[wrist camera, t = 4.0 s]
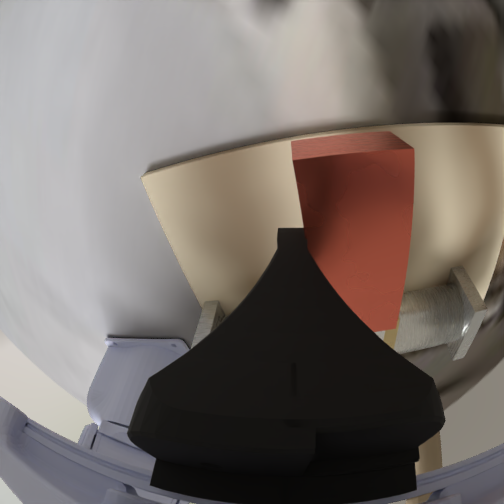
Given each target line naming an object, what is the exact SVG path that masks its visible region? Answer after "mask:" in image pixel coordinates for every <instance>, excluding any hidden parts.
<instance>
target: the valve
mask: <svg viewBox="0 0 504 504" xmlns="http://www.w3.org/2000/svg"><path fill="white" fill-rule="evenodd" d="M486 312H487V307H486V305H485V303H484V301H483V299H482V298H481V296H480V294H479V292H478V290H477V289H476V287H475V285H474V284H473V282H472V280H471V278H470V277H469V275H468V273H467V272H466V270H465V269H464V267H463V265H462V266H457V267H452V268H451V270H450V274H449V278H448V282H447V284H445V285H440V286H435V287H430V288H425V289H420V290H414V291H409V292H403V296H402V302H401V307H400V312H399V317H398V321H397V326H396V329H391V330H385V335H384V340H383V341H384V342H385V343H386V344H388V345H389V346H390V347H391V348H392V349H394V350H395V351H396V352H397V353H398V354H401V353H406V352H411V351H415V350H420V349H424V348H428V347H433V346H437V345H441V344H445V343H447V346H448V349H449V351H450V354H451V357H452V360H457V359H460V358H464V356H465V354H466V352H467V351H468V349H469V347H470V345H471V343H472V341H473V339H474V337H475V335H476V333H477V331H478V329H479V327H480V325H481V323H482V320H483V318H484V316H485V314H486ZM229 315H230V314H229ZM229 315H225V313H224V311H223V309H222V307H221V305H220V302H219V300H215V301H205V303H204V306H203V309H202V313H201V316H200V319H199V323H198V326H197V329H196V333H195V336H194V339H193V343H192V346H191V349H192V348H193V347H194V346H195V345H196V344H198V343H199V342H200V341H201V340H202V339H204V338H205V337H206V336H207V335H208V334H210V333H211V332H212V331H213V330H214V329H215V328H216V327H217V326H219V325H220V324H221V323H222V322H223V321H224V320H225V319H226V318H227V317H228V316H229Z"/></svg>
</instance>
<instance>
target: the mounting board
mask: <svg viewBox="0 0 504 504" xmlns="http://www.w3.org/2000/svg"><path fill="white" fill-rule="evenodd" d="M382 131H390V132H392V133H393V134H395V135H396V136H397V137H399V138H400V139H402V140H403V141H405V142H406V143H407V144H409V145H410V146H411V147H413V148H414V151H415V178H414V204H413V219H412V231H411V241H410V250H409V258H408V266H407V272H406V279H405V285H404V291H403V292H409V291H414V290H420V289H425V288H430V287H435V286H440V285H445V284H447V282H448V278H449V274H450V270H451V268H452V267H457V266H462V265H463V267H464V269H465V270H466V272H467V273H468V275H469V277H470V278H471V280H472V282H473V284H474V285H475V287H476V289H477V290H478V292H479V294H480V296H481V298H482V299H483V300H484V297H485V295H486V292H487V289H488V287H489V284H490V281H491V278H492V275H493V272H494V269H495V266H496V262H497V259H498V256H499V252H500V249H501V245H502V241H503V237H504V125H502V124H486V123H412V124H395V125H381V126H370V127H360V128H350V129H342V130H334V131H327V132H320V133H313V134H306V135H300V136H294V137H289V138H283V139H278V140H272V141H267V142H262V143H257V144H253V145H248V146H243V147H239V148H235V149H230V150H226V151H222V152H218V153H214V154H210V155H206V156H202V157H198V158H195V159H191V160H187V161H184V162H180V163H177V164H173V165H170V166H167V167H163V168H160V169H157V170H154V171H151V172H147V173H145V174H144V175H142V176H141V177H140V178H141V180H142V182H143V185H144V187H145V190H146V192H147V194H148V197H149V199H150V201H151V204H152V206H153V208H154V210H155V213H156V215H157V217H158V219H159V222H160V224H161V226H162V228H163V230H164V233H165V235H166V237H167V239H168V241H169V243H170V246H171V248H172V250H173V252H174V254H175V256H176V258H177V260H178V262H179V264H180V266H181V268H182V270H183V272H184V274H185V277H186V279H187V281H188V282H189V284H190V286H191V288H192V290H193V292H194V294H195V296H196V298H197V300H198V302H199V304H200V306H201V308H202V309H203V306H204V303H205V301H215V300H219V302H220V305H221V307H222V309H223V311H224V313H225V315H229V314H231V312H232V311H233V310H234V309H235V308H236V307H237V306H238V305H239V304H240V303H241V302H242V300H243V299H244V298H245V297H246V296H247V294H248V293H249V292H250V291H251V289H252V288H253V287H254V285H255V284H256V283H257V281H258V280H259V278H260V277H261V275H262V274H263V272H264V271H265V269H266V268H267V266H268V265H269V263H270V261H271V259H272V257H273V256H274V254H275V252H276V250H277V232H278V228H304V227H303V220H302V214H301V208H300V201H299V195H298V189H297V184H296V178H295V172H294V167H293V161H292V149H291V141H295V140H302V139H309V138H317V137H325V136H334V135H344V134H354V133H367V132H382Z"/></svg>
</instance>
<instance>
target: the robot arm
mask: <svg viewBox="0 0 504 504" xmlns="http://www.w3.org/2000/svg"><path fill="white" fill-rule="evenodd" d="M307 245H308V239H305V234H304V228H278V232H277V250H276V252H275V254H274V256H273V257H272V259H271V261H270V263H269V265H268V266H267V268H266V269H265V271H264V272H263V274H262V275H261V277H260V278H259V280H258V281H257V283H256V284H255V285H254V287H253V288H252V289H251V291H250V292H249V293H248V294H247V296H246V297H245V298H244V299H243V300H242V302H241V303H240V304H239V305H238V306H237V307H236V308H235V309H234V310H233V311H232V312H231V314H230V315H229V316H228V317H227V318H226V319H225V320H224V321H223V322H222V323H221V324H220V325H219V326H217V327H216V328H215V329H214V330H213V331H212V332H211V333H210V334H208V335H207V336H206V337H205V338H204V339H202V340H201V341H200V342H199V343H198V344H196V345H195V346H194V347H193V348H192V349H189V348H188V346H187V345H186V344H185V342H184V341H183V340H180V339H126V338H106V339H105V343H106V344H107V346H108V349H107V351H106V353H105V355H104V357H103V359H102V362H101V364H100V366H99V368H98V370H97V373H96V375H95V377H94V379H93V382H92V384H91V386H90V388H89V391H88V396H87V407H88V412H89V414H90V416H91V418H92V420H93V421H94V422H95V423H96V424H95V423H91V425H90V424H89V425H86V426H85V427H84V429H83V431H82V434H81V436H80V439H79V441H78V444H77V443H75V442H73V441H71V440H69V439H67V438H65V437H63V436H60V435H59V434H57V433H55V432H53V431H51V430H49V429H47V428H45V427H44V426H42V425H40V424H38V423H37V422H35V421H33V420H31V419H30V418H28V417H27V416H26V415H25V414H24V413H23V412H21V411H20V410H19V409H17V408H16V407H15V406H13V405H12V404H11V403H9V402H8V401H6V400H5V399H3V398H2V397H0V477H1V478H2V480H3V481H4V482H5V483H6V484H7V486H8V487H9V488H10V489H11V490H12V492H13V493H14V494H15V495H16V496H17V497H18V498H19V500H20V501H21V502H22V503H23V504H189V503H190V502H191V503H196V504H388V503H392V502H397V501H401V500H405V499H409V498H413V497H417V496H420V495H424V494H427V493H431V492H433V493H432V494H431V495H430V497H429V499H428V500H427V501H426V502H422V503H418V504H504V443H503V444H501V445H499V446H497V447H494V448H492V449H490V450H488V451H486V452H483V453H481V454H479V455H476V456H473V457H471V458H468V459H466V460H463V461H460V462H458V463H455V464H452V465H449V466H446V467H443V468H440V469H436V470H433V471H429V472H426V473H422V474H418V475H416V469H415V462H418V461H419V459H420V455H419V446H420V445H421V444H423V443H424V442H426V441H427V440H429V439H430V438H431V437H433V436H434V435H435V434H437V433H438V432H439V431H440V430H441V428H442V427H443V425H444V423H445V416H444V411H443V407H442V402H441V399H440V396H439V393H438V390H437V388H436V385H435V383H434V380H433V378H432V377H430V376H429V375H427V374H426V373H425V372H423V371H422V370H420V369H419V368H418V367H416V366H415V365H413V364H412V363H411V362H409V361H408V360H406V359H405V358H404V357H402V356H401V355H400V354H398V353H397V352H396V351H395V350H394V349H392V348H391V347H390V346H389V345H388V344H386V343H385V342H384V341H383V340H382V339H381V338H380V337H379V336H378V335H377V334H376V333H374V332H373V331H372V330H371V329H370V328H369V327H368V326H367V325H366V324H365V323H364V322H363V321H362V320H361V319H360V318H359V317H358V316H357V315H356V314H355V313H354V312H353V311H352V309H351V308H350V307H349V306H348V305H347V304H346V303H345V301H344V300H343V299H342V298H341V297H340V296H339V294H338V293H337V292H336V290H335V289H334V288H333V287H332V285H331V284H330V282H329V281H328V280H327V278H326V277H325V276H324V274H323V273H322V271H321V270H320V268H319V266H318V265H317V263H316V262H315V260H314V258H313V257H312V255H311V253H310V252H309V250H308V248H307ZM98 426H100V427H99V430H98V429H97V428H98ZM434 491H435V492H434Z"/></svg>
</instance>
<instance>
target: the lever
mask: <svg viewBox="0 0 504 504" xmlns="http://www.w3.org/2000/svg"><path fill="white" fill-rule="evenodd" d="M291 149H292V161H293V167H294V172H295V178H296V184H297V189H298V195H299V201H300V208H301V214H302V220H303V227H304V234H305V239H308V245H307V248H308V250H309V252H310V253H311V255H312V257H313V258H314V260H315V262H316V263H317V265H318V266H319V268H320V270H321V271H322V273H323V274H324V276H325V277H326V278H327V280H328V281H329V282H330V284H331V285H332V287H333V288H334V289H335V290H336V292H337V293H338V294H339V296H340V297H341V298H342V299H343V300H344V301H345V303H346V304H347V305H348V306H349V307H350V308H351V309H352V311H353V312H354V313H355V314H356V315H357V316H358V317H359V318H360V319H361V320H362V321H363V322H364V323H365V324H366V325H367V326H368V327H369V328H370V329H371V330H372V331H373V332H374V333H376V334H377V335H378V336H379V337H380V338H381V339H382V340H384V335H385V330H391V329H396V326H397V321H398V317H399V312H400V307H401V302H402V296H403V291H404V285H405V279H406V272H407V266H408V258H409V250H410V241H411V231H412V219H413V204H414V178H415V151H414V148H413V147H411V146H410V145H409V144H407V143H406V142H405V141H403V140H402V139H400V138H399V137H397V136H396V135H395V134H393V133H392V132H390V131H382V132H367V133H354V134H344V135H334V136H325V137H317V138H309V139H302V140H295V141H291Z"/></svg>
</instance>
